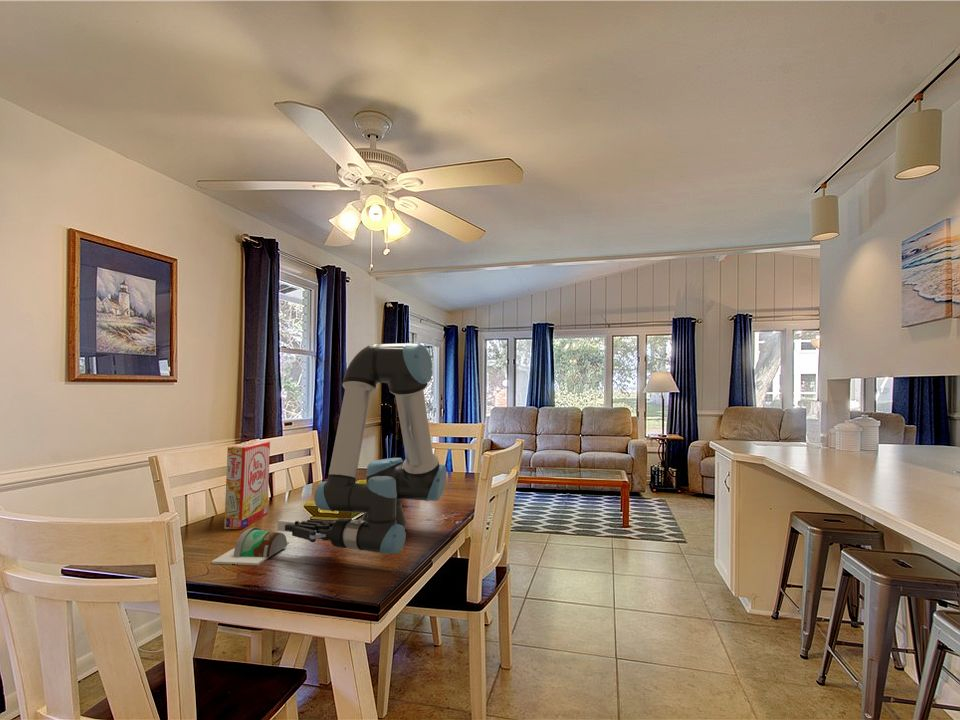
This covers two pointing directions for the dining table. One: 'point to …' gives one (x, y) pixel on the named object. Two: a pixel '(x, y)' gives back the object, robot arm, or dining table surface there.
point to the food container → (259, 543)
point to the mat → (238, 559)
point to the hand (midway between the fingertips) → (279, 524)
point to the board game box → (246, 484)
